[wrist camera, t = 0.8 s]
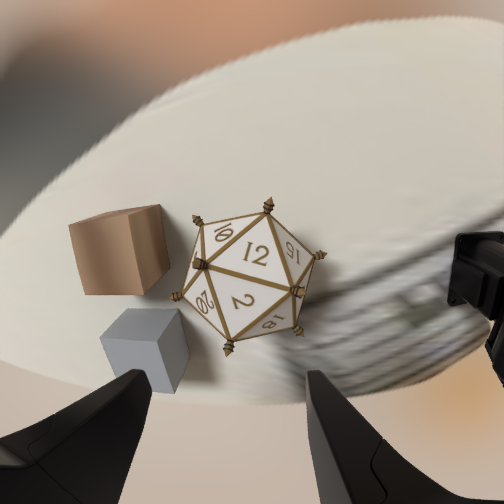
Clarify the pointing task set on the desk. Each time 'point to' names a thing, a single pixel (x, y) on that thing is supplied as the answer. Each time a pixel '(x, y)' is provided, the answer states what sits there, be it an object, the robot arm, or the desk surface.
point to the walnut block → (120, 251)
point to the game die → (248, 276)
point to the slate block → (148, 346)
